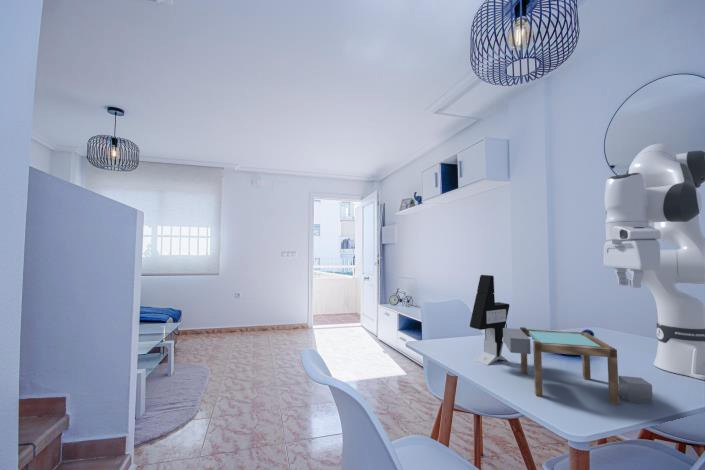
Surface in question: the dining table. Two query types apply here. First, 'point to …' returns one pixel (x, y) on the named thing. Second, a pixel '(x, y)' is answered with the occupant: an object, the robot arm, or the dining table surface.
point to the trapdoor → (541, 339)
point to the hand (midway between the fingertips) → (629, 286)
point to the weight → (635, 390)
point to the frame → (575, 350)
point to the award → (489, 320)
